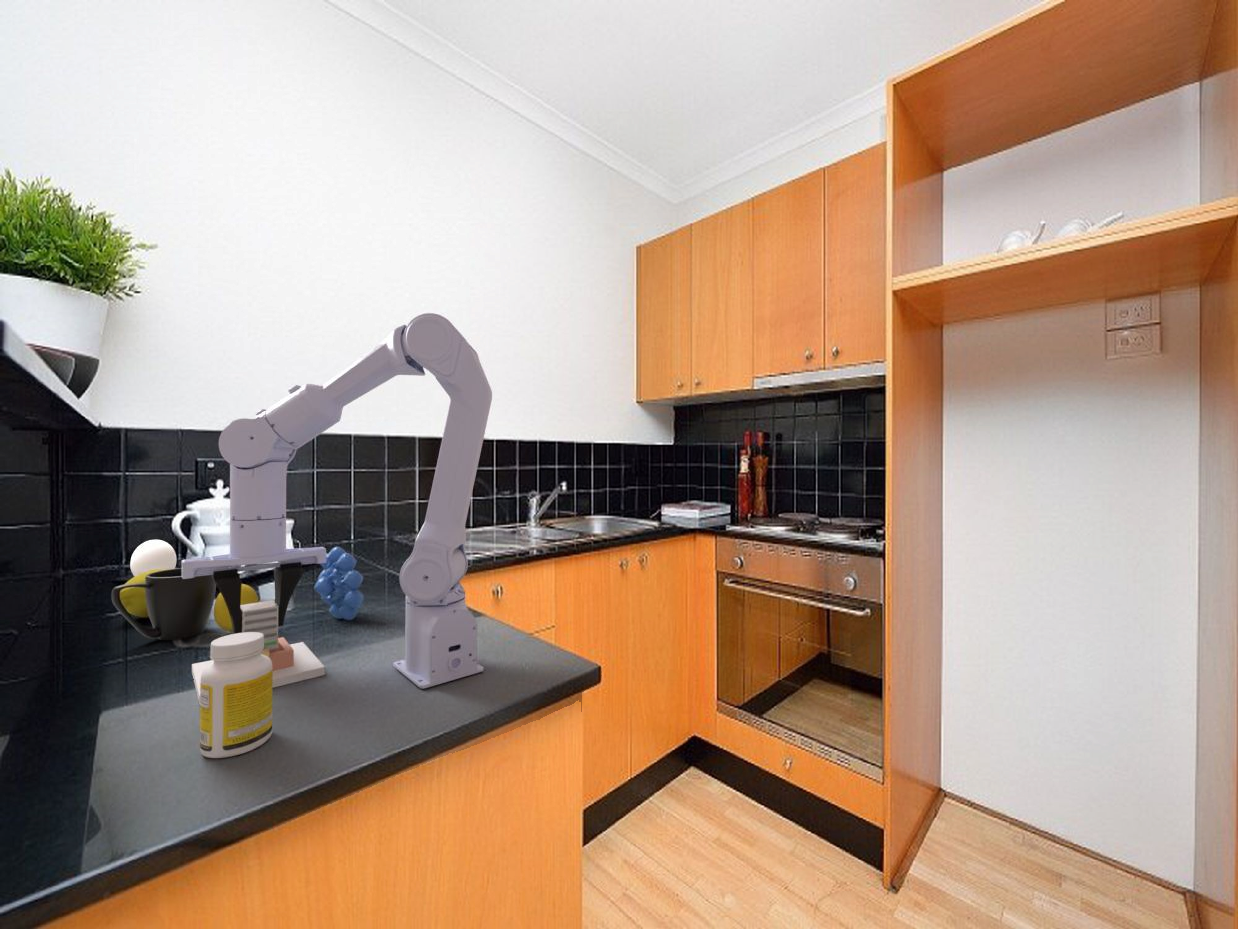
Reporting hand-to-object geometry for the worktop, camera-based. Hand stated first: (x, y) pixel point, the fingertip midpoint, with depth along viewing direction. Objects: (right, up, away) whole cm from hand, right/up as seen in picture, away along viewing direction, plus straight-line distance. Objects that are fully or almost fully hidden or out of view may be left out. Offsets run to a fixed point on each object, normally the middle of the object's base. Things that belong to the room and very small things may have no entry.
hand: (258, 628), depth 64 cm
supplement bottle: (+9, -6, -16) cm, 19 cm away
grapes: (-3, -6, +22) cm, 23 cm away
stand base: (0, -6, 0) cm, 6 cm away
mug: (-23, -6, +13) cm, 27 cm away
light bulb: (-47, -6, +37) cm, 60 cm away
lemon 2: (-14, -6, +15) cm, 21 cm away
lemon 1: (-34, -6, +23) cm, 41 cm away
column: (0, -3, 0) cm, 3 cm away
